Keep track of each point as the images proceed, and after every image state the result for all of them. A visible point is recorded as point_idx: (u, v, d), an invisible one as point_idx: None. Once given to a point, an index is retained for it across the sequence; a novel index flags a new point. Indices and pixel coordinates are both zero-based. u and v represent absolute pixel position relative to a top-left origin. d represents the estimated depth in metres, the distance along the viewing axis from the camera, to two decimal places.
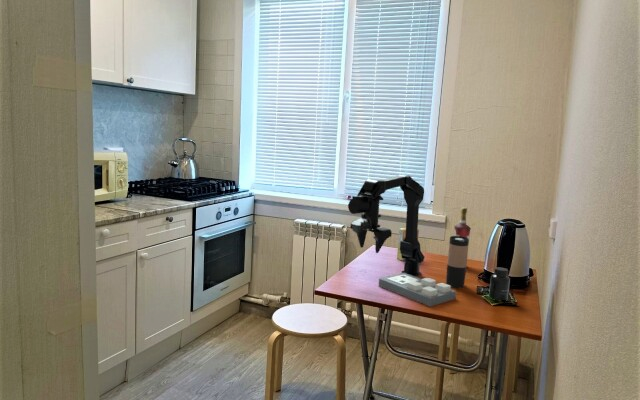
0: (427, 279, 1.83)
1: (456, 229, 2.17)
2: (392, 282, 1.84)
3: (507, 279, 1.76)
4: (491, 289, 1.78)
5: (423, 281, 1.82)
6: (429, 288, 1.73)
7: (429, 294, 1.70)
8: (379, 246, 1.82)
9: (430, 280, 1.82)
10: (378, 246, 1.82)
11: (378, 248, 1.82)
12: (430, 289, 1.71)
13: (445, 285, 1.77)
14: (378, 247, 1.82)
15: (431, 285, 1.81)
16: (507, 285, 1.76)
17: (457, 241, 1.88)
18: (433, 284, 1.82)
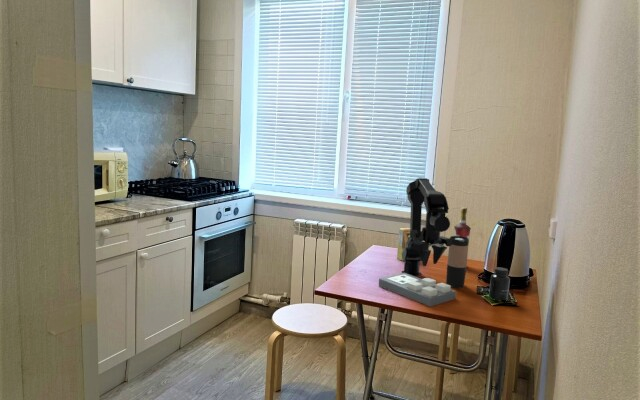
0: (427, 279, 1.83)
1: (456, 229, 2.17)
2: (392, 282, 1.84)
3: (507, 279, 1.76)
4: (491, 289, 1.78)
5: (423, 281, 1.82)
6: (429, 288, 1.73)
7: (429, 294, 1.70)
8: (423, 259, 1.79)
9: (430, 280, 1.82)
10: (422, 259, 1.79)
11: (423, 261, 1.79)
12: (430, 289, 1.71)
13: (445, 285, 1.77)
14: (423, 260, 1.79)
15: (431, 285, 1.81)
16: (507, 285, 1.76)
17: (457, 241, 1.88)
18: (433, 284, 1.82)
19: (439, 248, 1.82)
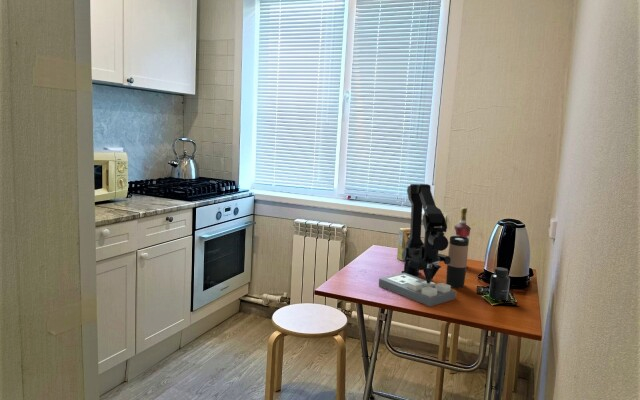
0: None
1: (456, 229, 2.17)
2: (392, 282, 1.84)
3: (507, 279, 1.76)
4: (491, 289, 1.78)
5: (423, 284, 1.83)
6: (429, 288, 1.73)
7: (429, 294, 1.70)
8: (427, 276, 1.82)
9: (430, 283, 1.82)
10: (426, 276, 1.82)
11: (426, 278, 1.82)
12: (430, 289, 1.71)
13: (445, 285, 1.77)
14: (426, 277, 1.82)
15: None
16: (507, 285, 1.76)
17: (457, 241, 1.88)
18: None
19: (433, 267, 1.82)
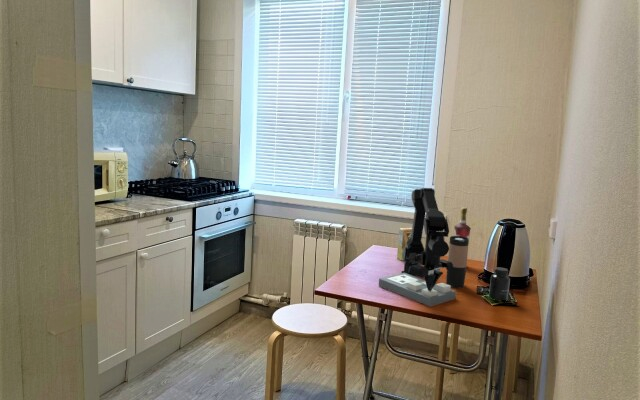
0: None
1: (456, 229, 2.17)
2: (392, 282, 1.84)
3: (507, 279, 1.76)
4: (491, 289, 1.78)
5: (423, 284, 1.83)
6: None
7: (429, 296, 1.70)
8: (428, 283, 1.71)
9: None
10: (427, 283, 1.72)
11: (428, 285, 1.72)
12: (430, 291, 1.72)
13: (445, 285, 1.77)
14: (427, 284, 1.72)
15: None
16: (507, 285, 1.76)
17: (457, 241, 1.88)
18: None
19: (434, 274, 1.71)
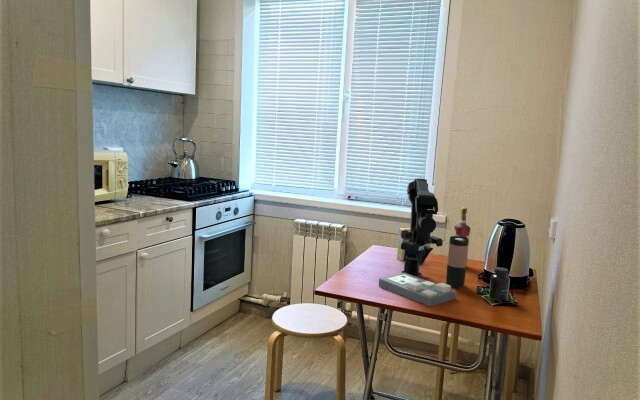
0: (427, 282, 1.84)
1: (456, 229, 2.17)
2: (392, 282, 1.84)
3: (507, 279, 1.76)
4: (491, 289, 1.78)
5: (423, 284, 1.83)
6: (429, 291, 1.73)
7: None
8: (419, 258, 1.82)
9: (430, 283, 1.82)
10: (418, 258, 1.82)
11: (418, 260, 1.83)
12: (430, 293, 1.72)
13: (445, 285, 1.77)
14: (418, 259, 1.83)
15: None
16: (507, 285, 1.76)
17: (457, 241, 1.88)
18: None
19: (425, 249, 1.82)
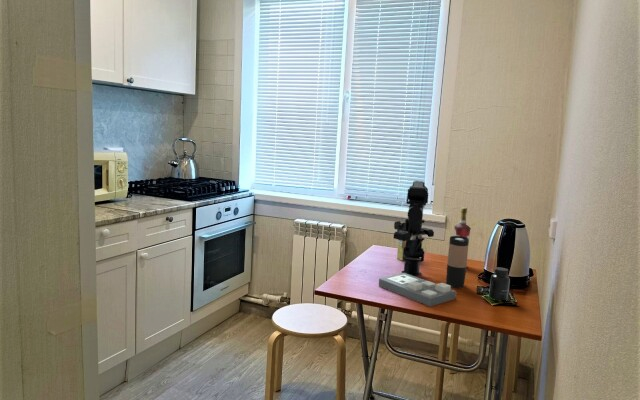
0: (427, 282, 1.84)
1: (456, 229, 2.17)
2: (392, 282, 1.84)
3: (507, 279, 1.76)
4: (491, 289, 1.78)
5: (423, 284, 1.83)
6: (429, 291, 1.73)
7: None
8: (411, 248, 1.91)
9: (430, 283, 1.82)
10: (410, 247, 1.92)
11: (411, 250, 1.92)
12: (430, 293, 1.72)
13: (445, 285, 1.77)
14: (410, 249, 1.92)
15: None
16: (507, 285, 1.76)
17: (457, 241, 1.88)
18: None
19: (417, 239, 1.91)
